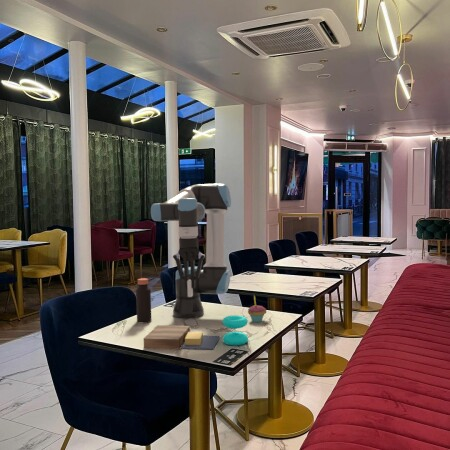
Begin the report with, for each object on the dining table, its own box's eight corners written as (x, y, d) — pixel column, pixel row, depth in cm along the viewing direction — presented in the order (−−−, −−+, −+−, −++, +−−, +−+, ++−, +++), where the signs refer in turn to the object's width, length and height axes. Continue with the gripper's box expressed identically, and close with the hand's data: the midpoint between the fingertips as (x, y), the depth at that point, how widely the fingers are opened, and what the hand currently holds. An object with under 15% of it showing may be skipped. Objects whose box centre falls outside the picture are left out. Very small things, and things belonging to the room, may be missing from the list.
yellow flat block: (188, 337, 189) (188, 331, 189) (203, 337, 188) (202, 331, 188) (184, 344, 180) (184, 338, 180) (200, 344, 180) (200, 338, 179)
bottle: (153, 319, 220) (152, 278, 219) (147, 323, 213) (146, 280, 212) (140, 318, 222) (139, 277, 221) (134, 322, 215) (132, 280, 214)
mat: (190, 336, 193) (190, 335, 192) (220, 337, 191) (220, 335, 190) (181, 348, 177) (180, 347, 177) (213, 349, 175) (212, 348, 175)
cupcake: (244, 320, 215) (243, 295, 214) (258, 317, 220) (257, 292, 219) (256, 324, 208) (255, 298, 207) (270, 320, 213) (269, 295, 212)
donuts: (242, 322, 176) (218, 320, 180) (243, 347, 177) (219, 345, 180) (250, 315, 185) (227, 313, 189) (251, 339, 186) (228, 337, 190)
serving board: (157, 334, 196) (157, 325, 196) (190, 335, 194) (189, 326, 193) (143, 348, 178) (143, 338, 178) (179, 349, 176) (178, 339, 176)
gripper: (170, 238, 179) (172, 298, 181) (202, 238, 177) (204, 298, 179) (175, 236, 187) (176, 293, 189) (206, 236, 185) (208, 294, 187)
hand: (190, 296), depth 184 cm, fingers closed
